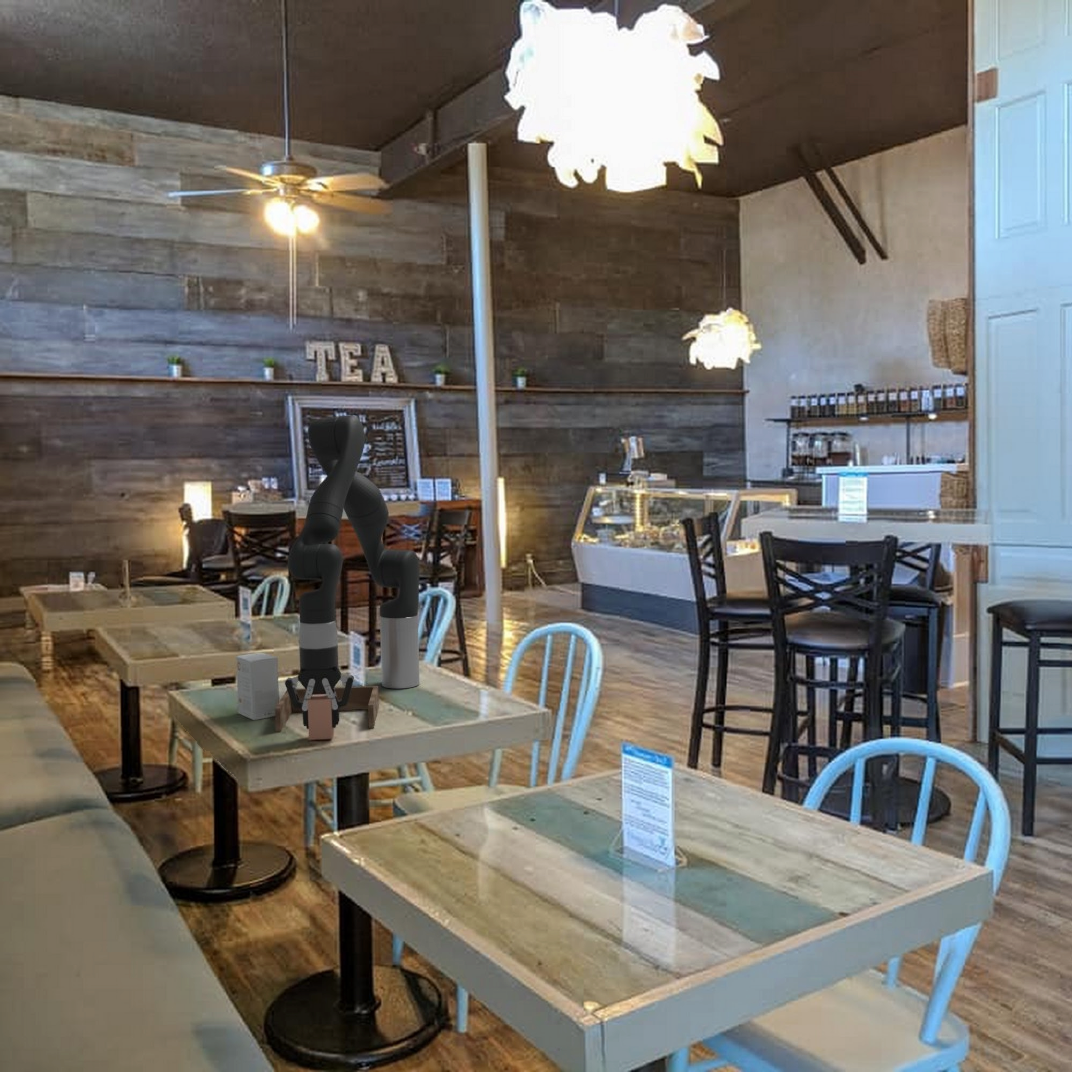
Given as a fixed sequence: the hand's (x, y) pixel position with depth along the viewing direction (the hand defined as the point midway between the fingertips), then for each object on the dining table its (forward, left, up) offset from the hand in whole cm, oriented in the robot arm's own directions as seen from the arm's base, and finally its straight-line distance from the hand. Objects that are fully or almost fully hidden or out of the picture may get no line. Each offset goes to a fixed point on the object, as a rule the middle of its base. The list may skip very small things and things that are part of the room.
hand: (321, 727), depth 208 cm
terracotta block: (0, 0, -2) cm, 2 cm away
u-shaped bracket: (-14, 0, -2) cm, 14 cm away
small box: (-21, -16, -2) cm, 27 cm away
